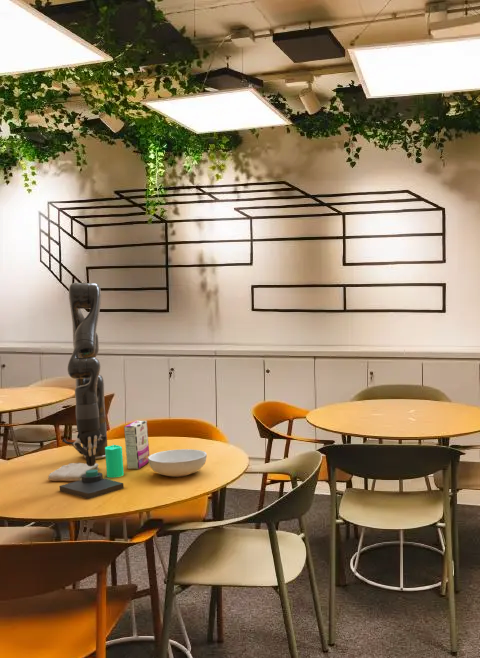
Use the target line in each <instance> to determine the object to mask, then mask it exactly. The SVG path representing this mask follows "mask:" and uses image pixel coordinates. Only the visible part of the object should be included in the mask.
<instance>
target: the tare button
mask: <svg viewBox="0 0 480 658" xmlns="http://www.w3.org/2000/svg"><path fill="white" fill-rule="evenodd" d="M98 470H99V469H98ZM98 470H88V471H86V477H94V476H98Z"/></svg>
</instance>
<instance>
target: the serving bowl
mask: <svg viewBox="0 0 480 658" xmlns="http://www.w3.org/2000/svg"><path fill="white" fill-rule="evenodd" d="M148 461H149V463H148V464H149V466H150V467H149V468H151V470H152V471H153V472H155V473H156V474H158V475H162V476H166V477H171V478H180V477H185V476H189V475H191V474H194V473H196V472H198V471H200V470H201V469H202V468H203V467H204V466H205V464H206V461H207V452H206V451H205V450H202V449H201V450H200V449H192V448H181V449H169V450H162V451H157V452H155V453H152V454H149V457H148Z"/></svg>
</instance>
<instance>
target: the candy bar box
mask: <svg viewBox="0 0 480 658" xmlns="http://www.w3.org/2000/svg"><path fill="white" fill-rule="evenodd" d="M123 433H124V445H125V455H126V457H125V458H126V468H127V470H140V469H141V468H143V467H144V466H146V465H147V464H149V461H148V457H149V456H150V444H149V432H148V420H134V421H132V422H131V423H129V424H126V425H124V427H123Z"/></svg>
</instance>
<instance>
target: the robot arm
mask: <svg viewBox="0 0 480 658" xmlns="http://www.w3.org/2000/svg"><path fill="white" fill-rule="evenodd" d="M68 300H69V308H70V315H71V324H72V342H73V350H72V353H71V356H70V358H69V361H68V363H67V368H66V370H67V375H68V376H69V377H70V378H72V379H73V380H75V389H74V395H75V396H74V398H75V420H76V431H77V436H76V439H75V441H67V439H66V438H63V439H62V443H64V444H67V445H72V446H73V448H74V449H75V450H76V451H77V452H78V453H79V454H80V455H82V456H83V458H84V459H85V464H87V465H88V466H90V467H91V466H94V465H95V463H97V462H96V461H97V460H101V459H106V456H105V447H107V446H109V445H108V433H107V432H108V431H107V417H106V405H105V404H106V403H105V381H104V377H103V376H102V374H100V373H101V363H100V361H99V359H98V358H97V356H98V354H99V351H100V349H99V348H100V346H99V345H100V344H99V335H98V333H97V328H98V322H99V319H100V318H99V317H100V310H101V305H102V291H101V286H100V285H99V284H98V283H96V282H95V283H93V282H73V283H71V284H70V285H69V287H68ZM84 309H85V310H89V312H88V313H87V315H86V316H85V315H84V313H83V312H82V310H84Z"/></svg>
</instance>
